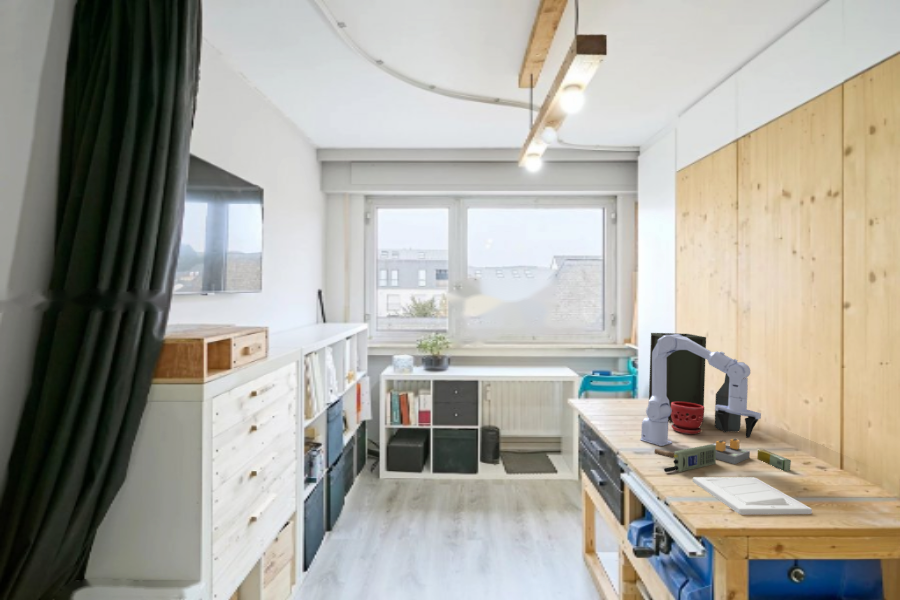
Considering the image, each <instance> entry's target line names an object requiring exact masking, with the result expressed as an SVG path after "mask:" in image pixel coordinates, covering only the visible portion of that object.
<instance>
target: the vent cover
mask: <svg viewBox="0 0 900 600" xmlns="http://www.w3.org/2000/svg"><path fill="white" fill-rule="evenodd" d="M692 483H693V484H695V485H696V486H698V487H700V488H701V489H702V490H703V491H705V492H707V493H708V494H710V495H711V496H712V497H714V498H715V499H716V500H718V501H720V502H721V503H723V504H724V505H725V506H726V507H728V508H730V510H733V512H735V513H737V514H738V515H811V514H813V509H812V508H811V507H809V506H807V505H806V504H804V503H803V502H801V501H799V500H797V499H795V498H793V497H791V496H790V495H788V494H786V493H784V492H783V491H781V490H779V489H777V488H775V487H773V486H772V485H769V483H766V482H764V481H762V480H760V479H759V478H757V477H753V476H752V477H750V476H749V477H747V476H744V477H743V476H739V477H737V476H735V477H734V476H733V477H727V476H725V477H722V476H720V477H719V476H718V477H717V476H714V477H712V476H711V477H710V476H707V477H706V476H702V477H699V476H694V477H692Z"/></svg>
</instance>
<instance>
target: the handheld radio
mask: <svg viewBox="0 0 900 600" xmlns="http://www.w3.org/2000/svg"><path fill="white" fill-rule="evenodd" d="M673 453H675V455H674V457H675V458H674V460H673V463H674V466H669V467H665V468H663V471H664V472H665V473H670V472H674V471H676V472H678V471H679V472H678V473H681V472H686V471H690V470H694V469H699V468H703V467H708V466H711V465H716V462H717V461H716V460H717V459H716V446H715V445H710V444H706V445H705V444H704V445H699V446H696V447H695V446H694V447H690V448H685V449H680V450H675V451H674V452H673Z"/></svg>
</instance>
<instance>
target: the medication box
mask: <svg viewBox="0 0 900 600" xmlns="http://www.w3.org/2000/svg"><path fill="white" fill-rule="evenodd" d="M756 458H757V460H758V461H760V462H762V461H763V462H762V463H764V462H765V463H764V464H767V465H769V466H771V465H772V466H771V467H773V466H774V467H773V468H776V469H777V470H780V469H781V471H782V470H783V472H790V471H791V464H792V461H791V459H789V458H786V457H784V456H781V455H779V454H777V453H774V452H772V451H768V450H766V449H761V448H759V449H757V457H756Z"/></svg>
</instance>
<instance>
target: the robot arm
mask: <svg viewBox="0 0 900 600" xmlns="http://www.w3.org/2000/svg"><path fill="white" fill-rule="evenodd" d="M680 334H681V333H679V334H674V335H664V336H662V337H661V338H659V339H658V343H657V344H656V346H655V348H654V349H653V351H652V397H651V398H650V400H649V399H648V405H647V407H646V410H645V414H646V416H647V417H644V418H643V420H642V422H641V432H640V433H641V437H640V439H639V440H640V441H643V442H646V443H650V444H652V445H656V446H660V447H663V446H667V445H670V444H673V441H670V440H668V439H669V436H668V435H669V421H668V417H669V416H670V415H671V412H672V410H671V407H670V405H669V399H668V398H667V396H666V384H667V357H668V356H669V355H670V354H671V353H673V352H675V351H677V350H688V351H690V352H693V353H695V354H697V355H699V356H701V357H703V358H705V360H706V361H707V362H708V364H709V366H711V367H713V368H715V369H716V370H719V371H721V372H722V373H723V374H726V373H727V375H728V376H729V400H728V406H723V405H714V411H715V410H716V411H718V412H717V416H718V418H719V420H720V422H721V425H722V429H723V431H722V432H723V433H728V419H729V414H730V413H732V414H737V415H741V417H742V416H743V417H745V418H744V422H745V438H746V439H749V438H751V436H752V433H753V430H754V428H755V426H756V425H757V423H758V421H759V420H760V419H761V418H762V413H761V412H758V411H753V410H749V409H748V385H749V384H748V382H749V381H748V380H749V379H748V377H749V376H750V374H751V368H750V366H749V365H748V364H747V363H745V362H743V361H739V360H738V359H736V358H731V357H729V356H727V355H726V354H725V352H723V351H717V350H716V351H711V350H709V349H707V347H706V348H704V347H702V346H701V345H699V344H697V343H695V342H694V341H692V340H690V339H689V338H687V337H683V336H682V335H680ZM738 361H739V362H738Z"/></svg>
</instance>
